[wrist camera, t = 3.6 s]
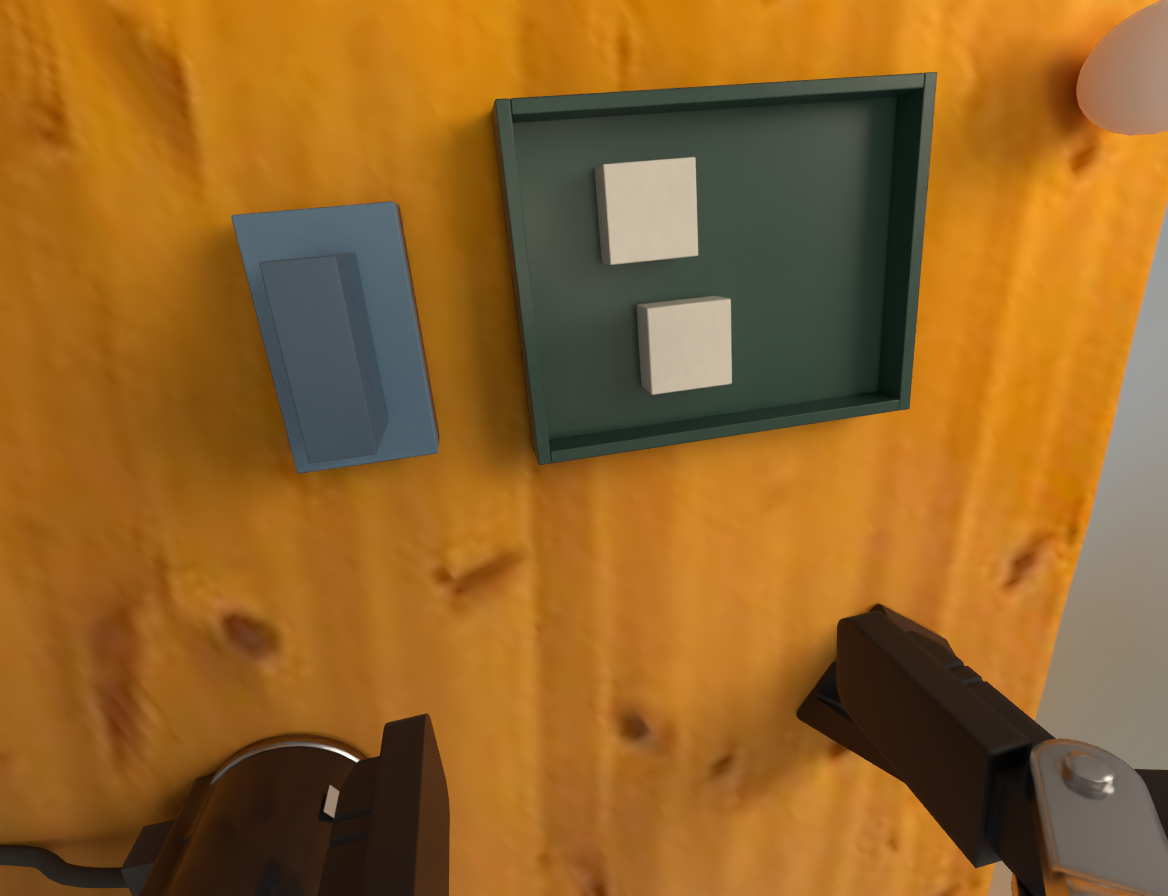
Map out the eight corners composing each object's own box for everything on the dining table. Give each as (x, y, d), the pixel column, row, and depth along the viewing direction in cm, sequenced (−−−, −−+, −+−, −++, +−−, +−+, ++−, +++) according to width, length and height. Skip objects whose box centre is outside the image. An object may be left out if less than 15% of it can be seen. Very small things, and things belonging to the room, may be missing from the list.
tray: (533, 450, 31) (539, 465, 29) (491, 110, 26) (494, 99, 24) (881, 398, 34) (909, 409, 32) (902, 84, 29) (937, 71, 27)
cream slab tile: (601, 263, 29) (610, 265, 27) (594, 168, 27) (603, 163, 26) (685, 255, 29) (698, 256, 28) (681, 161, 28) (695, 156, 26)
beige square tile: (641, 387, 31) (651, 395, 29) (635, 304, 30) (646, 308, 28) (717, 376, 32) (732, 384, 30) (716, 295, 30) (731, 298, 29)
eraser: (309, 455, 29) (268, 517, 23) (250, 217, 26) (181, 209, 19) (439, 437, 30) (435, 491, 24) (399, 204, 27) (381, 192, 20)
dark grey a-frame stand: (878, 601, 39) (1050, 747, 27) (941, 636, 41) (1127, 786, 29) (794, 713, 40) (925, 895, 29) (859, 741, 42) (1005, 923, 31)
